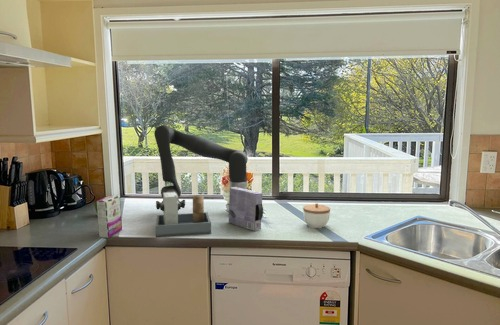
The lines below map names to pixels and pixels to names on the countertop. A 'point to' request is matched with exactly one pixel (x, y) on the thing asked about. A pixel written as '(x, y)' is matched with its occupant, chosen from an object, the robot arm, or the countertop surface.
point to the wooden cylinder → (198, 209)
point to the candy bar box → (109, 216)
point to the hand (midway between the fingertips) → (170, 208)
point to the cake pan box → (245, 208)
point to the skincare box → (170, 208)
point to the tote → (183, 226)
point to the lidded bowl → (316, 215)
